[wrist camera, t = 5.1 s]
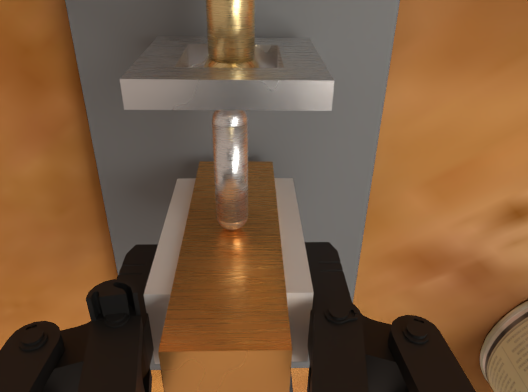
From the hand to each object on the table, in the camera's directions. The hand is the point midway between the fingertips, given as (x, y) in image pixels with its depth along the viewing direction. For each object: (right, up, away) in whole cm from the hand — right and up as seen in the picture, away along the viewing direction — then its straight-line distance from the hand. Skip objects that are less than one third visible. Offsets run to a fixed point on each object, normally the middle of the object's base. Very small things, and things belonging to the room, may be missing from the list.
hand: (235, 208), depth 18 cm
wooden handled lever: (0, +1, +1) cm, 1 cm away
